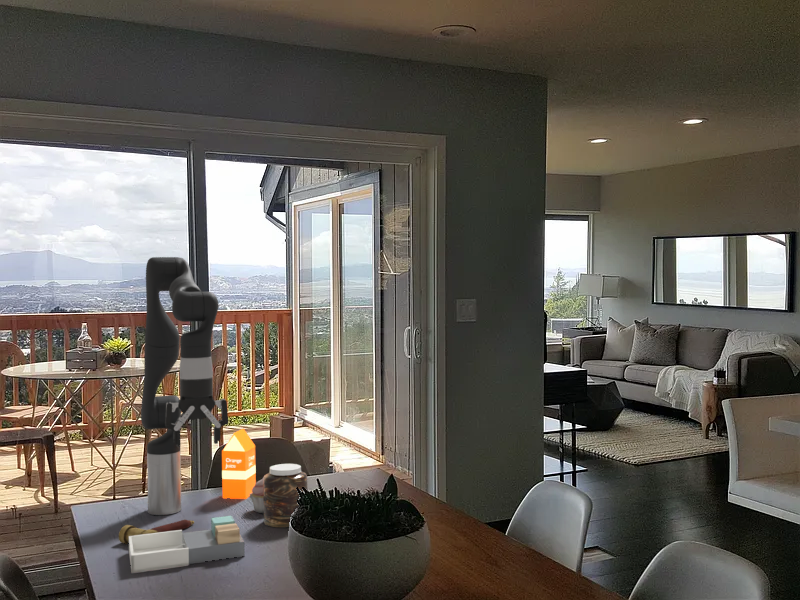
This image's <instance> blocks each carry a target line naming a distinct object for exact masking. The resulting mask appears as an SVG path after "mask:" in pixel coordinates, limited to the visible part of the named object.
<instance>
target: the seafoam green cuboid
mask: <svg viewBox="0 0 800 600" xmlns="http://www.w3.org/2000/svg"><path fill="white" fill-rule="evenodd" d="M210 522H211V523H210V524H211V530H212V532H213V534H214V536H215V526H218V525H227V524H235V523H236V521H235V519H234V517H233V516H232V515H225V516H217V517H210Z"/></svg>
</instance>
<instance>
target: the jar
mask: <svg viewBox="0 0 800 600" xmlns="http://www.w3.org/2000/svg"><path fill="white" fill-rule="evenodd" d="M263 477H264V484H263V503H264V513H263V523H264V525H266V526H267V525H268V527H270V528H290V527H289V522H290V517H291V514H292V513H293V512H294V510H295V509H296V508H298V507H299V505H298V504H297V502H296V501H297V499H299V494H298V492H297V490H296V488H297V487H298V488H299V489H300V490H301V491H302V492H303V490H302V487H305V488H306V489H307V490H308V487H309V486H308V475H307V473H306V472H304V471H302V466H301V465H300V464H297V463H281V464H280V463H279V464H275V465H271V466H269V472H268V473H266V474H264V476H263ZM308 491H309V490H308Z"/></svg>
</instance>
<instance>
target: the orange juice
mask: <svg viewBox="0 0 800 600" xmlns="http://www.w3.org/2000/svg"><path fill="white" fill-rule="evenodd" d="M256 465H257V464H256V444H255V443H254V442H253V440H252V439H251V437H250V436H249V434H248V432H247V431H246V430H245V428H241V429H240V430H237V431H235V432H234V433H233V434H232V435H231V437H230V438H229V440H228V441H227V443H226V445H225V446H224V448H223V449H222V450H221V478H222V479H221V480H222V481H221V483H222V484H221V486H222V499H227V498H230V499H233V500H247V499H248V498H250V493H252V488H253V487H254V486H255V483H257V480H256V476H257V475H256V473H257V472H256V471H257V469H256Z"/></svg>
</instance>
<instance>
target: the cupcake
mask: <svg viewBox="0 0 800 600" xmlns="http://www.w3.org/2000/svg"><path fill="white" fill-rule="evenodd" d="M263 484H264V476H263V477H262V479H260V480H258V481H256V483H255V486H254V487H253V488H252V493H250V496H249V498H250V500H251V502H252V505H253V510H254V512H256V513H259V514H264V503H263Z"/></svg>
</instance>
